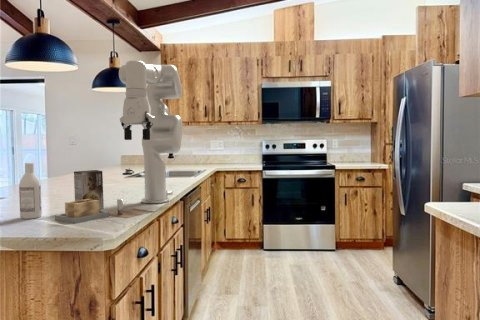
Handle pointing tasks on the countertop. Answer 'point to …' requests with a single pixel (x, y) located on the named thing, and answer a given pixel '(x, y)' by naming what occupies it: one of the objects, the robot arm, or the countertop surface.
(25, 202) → the bath foam
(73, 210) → the wooden block
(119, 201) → the stake
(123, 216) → the board
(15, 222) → the countertop surface
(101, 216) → the tray
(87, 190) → the coffee box
